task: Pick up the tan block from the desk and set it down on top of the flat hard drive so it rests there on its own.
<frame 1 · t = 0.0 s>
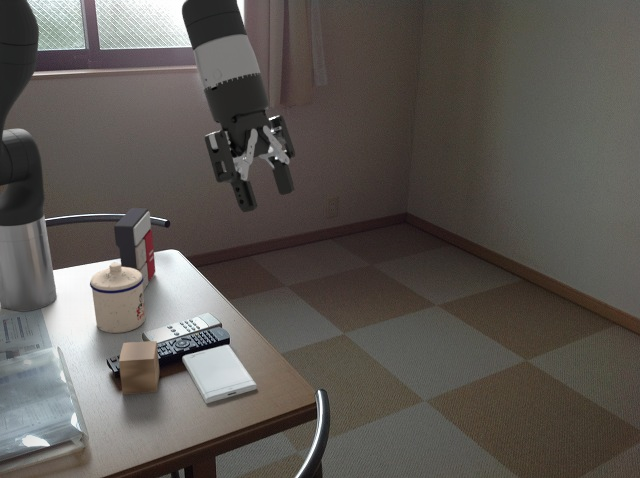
hand: (269, 201, 77), 31 cm above the table, tool tilted 20°, fingers open, 8 cm apart
hard drive: (218, 378, 95), on the table
teacup with lid: (120, 319, 110), on the table
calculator: (140, 284, 123), on the table
tan block: (141, 383, 92), on the table
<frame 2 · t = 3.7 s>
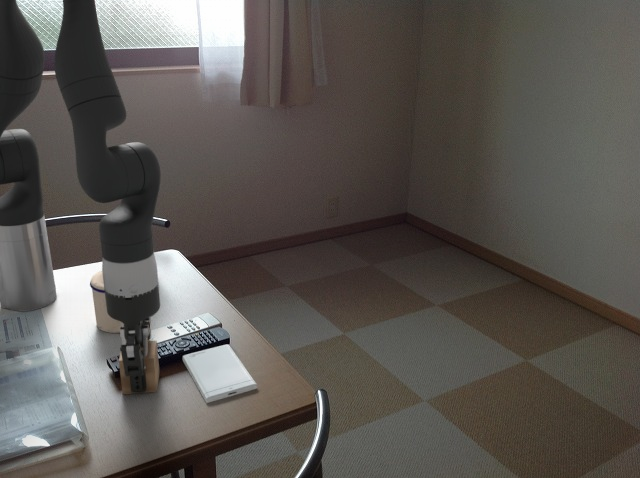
hand: (141, 379, 91), 1 cm above the table, tool pointing down, fingers closed on tan block, 5 cm apart
tan block: (141, 383, 92), on the table, touching gripper
everything else where it was.
when the fingers open (4 cm above the table, at t = 9.0 s): tan block drops 3 cm, point 1 cm above the table.
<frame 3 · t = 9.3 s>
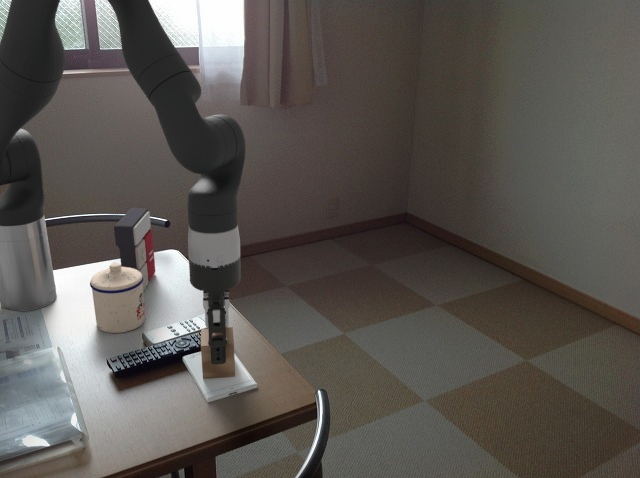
hand: (218, 347, 93), 5 cm above the table, tool pointing down, fingers open, 8 cm apart
tan block: (218, 368, 94), point 1 cm above the table
everything else where it was.
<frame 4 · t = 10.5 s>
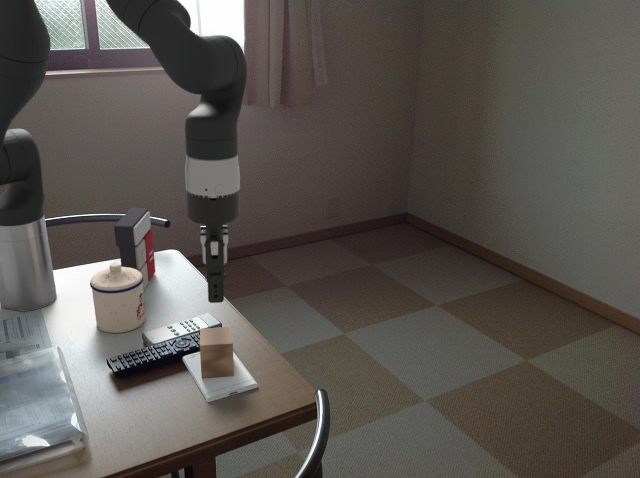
hand: (215, 287, 89), 15 cm above the table, tool pointing down, fingers open, 8 cm apart
hard drive: (219, 378, 95), on the table, touching tan block
tan block: (217, 368, 95), point 1 cm above the table, touching hard drive
everything else where it was.
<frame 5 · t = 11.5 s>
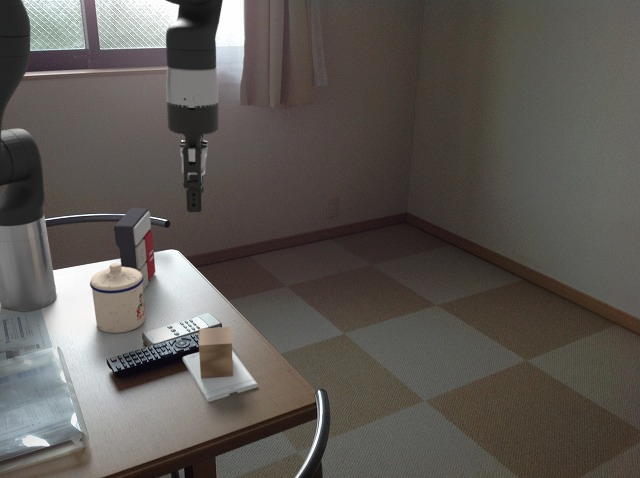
hand: (195, 202, 93), 26 cm above the table, tool pointing down, fingers open, 8 cm apart
hard drive: (219, 378, 95), on the table
tan block: (216, 368, 95), point 1 cm above the table
everything else where it was.
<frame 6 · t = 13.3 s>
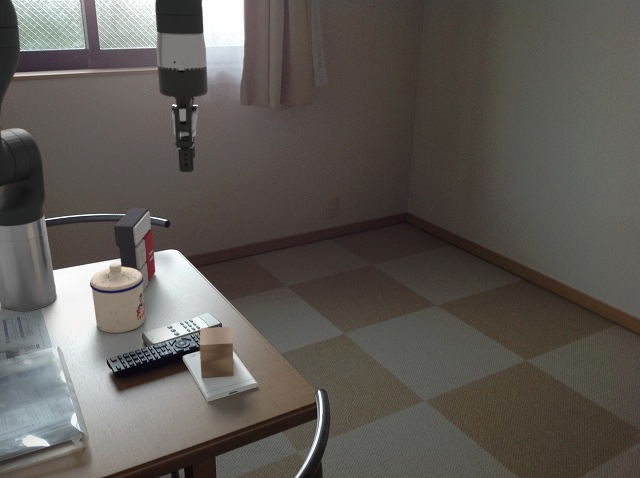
hand: (187, 164, 98), 30 cm above the table, tool pointing down, fingers open, 8 cm apart
hard drive: (219, 377, 95), on the table, touching tan block
tan block: (217, 367, 95), point 1 cm above the table, touching hard drive
everything else where it was.
at the end: tan block inside the target area on the hard drive (0.2 cm from its centre), point 1.8 cm above the hard drive's base; tan block tilted 0°; tan block touching hard drive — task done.
